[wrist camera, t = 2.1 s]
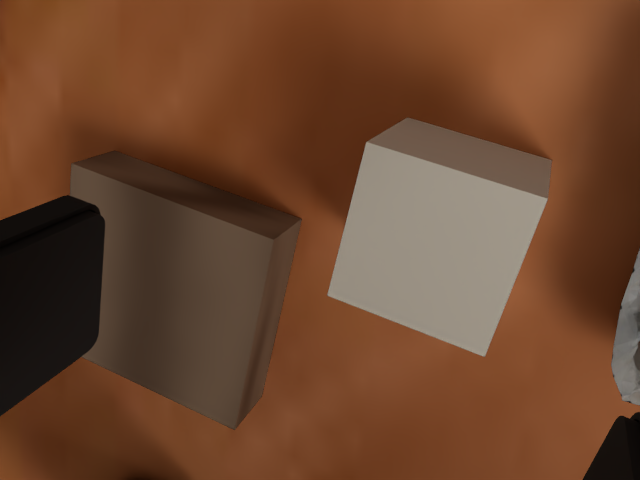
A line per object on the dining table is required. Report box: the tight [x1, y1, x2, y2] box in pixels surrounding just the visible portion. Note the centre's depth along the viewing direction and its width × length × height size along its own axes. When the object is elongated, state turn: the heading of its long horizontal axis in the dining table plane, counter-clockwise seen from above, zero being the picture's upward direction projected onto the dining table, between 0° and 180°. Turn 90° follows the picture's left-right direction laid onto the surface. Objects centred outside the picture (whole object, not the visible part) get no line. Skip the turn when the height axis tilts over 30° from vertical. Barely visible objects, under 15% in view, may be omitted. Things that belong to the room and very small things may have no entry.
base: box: [70, 151, 302, 430], centre depth 26 cm, size 9×9×3 cm
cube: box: [327, 117, 552, 357], centre depth 19 cm, size 5×5×5 cm
